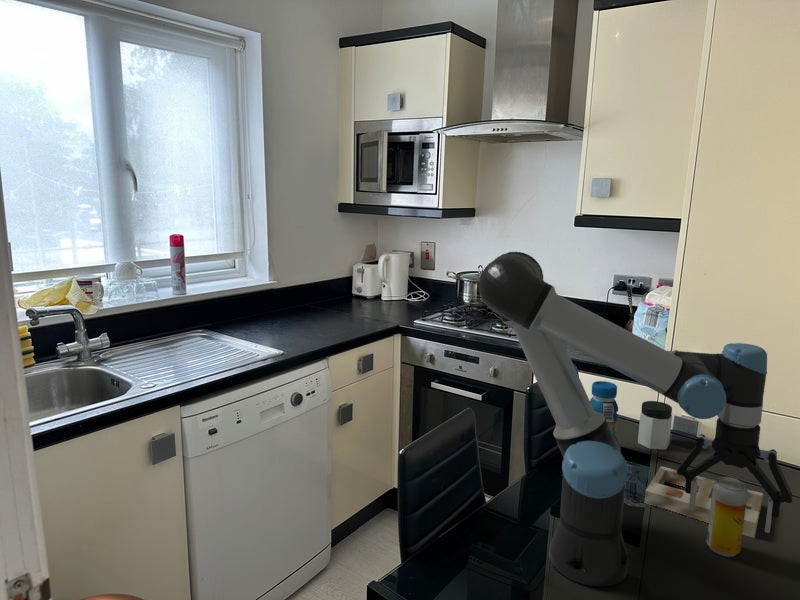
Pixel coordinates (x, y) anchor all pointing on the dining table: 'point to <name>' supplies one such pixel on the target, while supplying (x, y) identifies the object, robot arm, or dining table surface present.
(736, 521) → the beer can
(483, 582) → the dining table surface
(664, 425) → the jar
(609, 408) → the beverage bottle
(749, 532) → the socket board
